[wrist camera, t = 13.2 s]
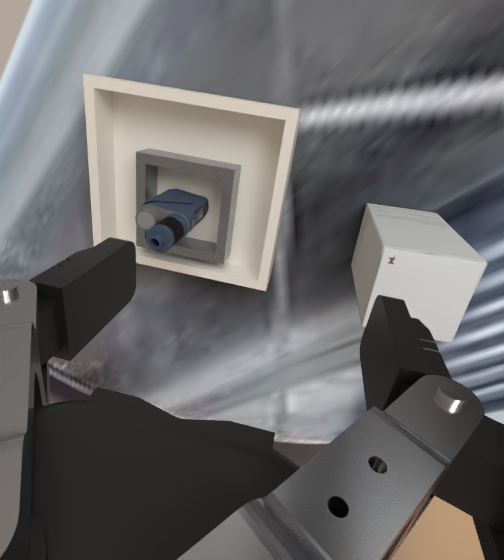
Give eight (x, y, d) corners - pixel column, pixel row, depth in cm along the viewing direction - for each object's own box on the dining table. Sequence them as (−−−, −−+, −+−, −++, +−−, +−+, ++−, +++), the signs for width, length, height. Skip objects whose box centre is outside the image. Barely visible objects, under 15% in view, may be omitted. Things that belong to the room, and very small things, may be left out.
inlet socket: (149, 148, 38) (135, 151, 35) (241, 165, 37) (234, 169, 34) (148, 236, 43) (136, 245, 40) (230, 254, 42) (223, 264, 39)
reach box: (106, 76, 37) (82, 73, 33) (302, 108, 35) (299, 109, 31) (112, 241, 45) (94, 253, 41) (270, 275, 43) (265, 291, 39)
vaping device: (208, 220, 40) (166, 262, 30) (164, 206, 41) (107, 243, 30) (213, 198, 39) (171, 233, 29) (167, 184, 39) (108, 214, 29)
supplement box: (349, 266, 40) (357, 328, 29) (366, 200, 37) (382, 242, 26) (417, 278, 40) (452, 346, 28) (440, 212, 36) (491, 261, 25)
